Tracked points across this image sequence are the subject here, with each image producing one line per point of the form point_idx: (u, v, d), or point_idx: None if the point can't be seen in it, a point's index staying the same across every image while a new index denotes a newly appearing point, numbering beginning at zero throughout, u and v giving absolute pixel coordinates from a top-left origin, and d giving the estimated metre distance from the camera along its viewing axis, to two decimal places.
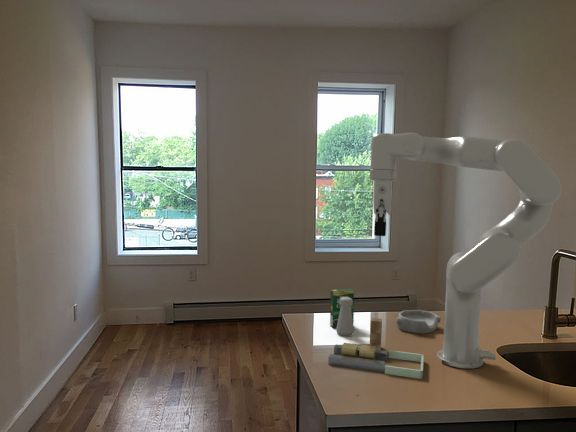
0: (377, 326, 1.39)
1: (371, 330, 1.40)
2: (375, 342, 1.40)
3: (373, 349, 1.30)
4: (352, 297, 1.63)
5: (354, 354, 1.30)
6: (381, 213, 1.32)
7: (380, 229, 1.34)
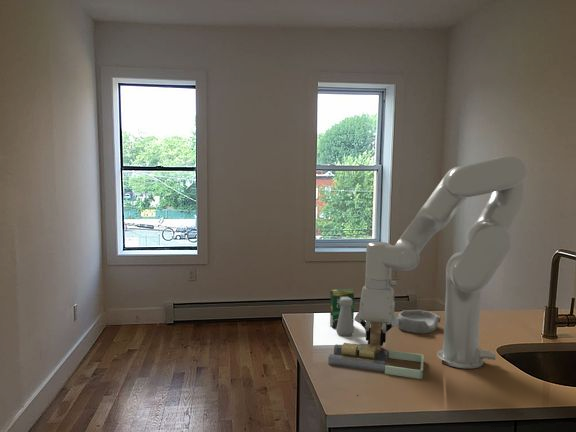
0: (377, 326, 1.39)
1: (371, 330, 1.40)
2: (375, 342, 1.40)
3: (373, 349, 1.30)
4: (352, 297, 1.63)
5: (354, 354, 1.30)
6: None
7: (385, 338, 1.40)
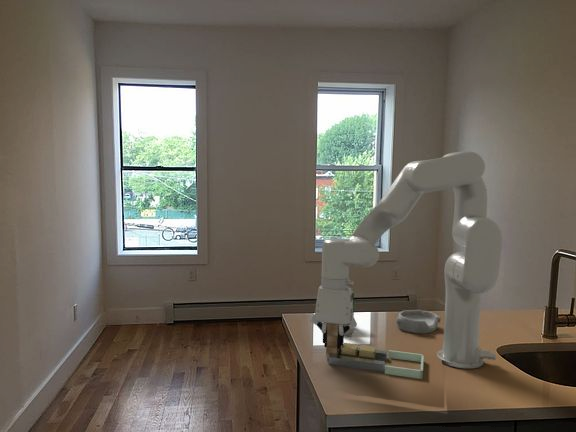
0: (334, 328, 1.32)
1: (328, 332, 1.32)
2: (332, 345, 1.32)
3: (373, 349, 1.30)
4: (352, 297, 1.63)
5: (354, 354, 1.30)
6: None
7: (343, 341, 1.33)
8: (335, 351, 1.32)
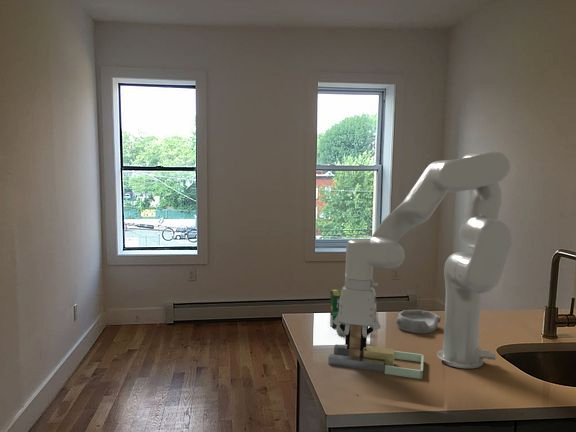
0: (357, 329, 1.30)
1: (351, 333, 1.30)
2: (355, 346, 1.30)
3: (392, 352, 1.28)
4: None
5: (376, 357, 1.28)
6: None
7: (366, 343, 1.31)
8: (358, 353, 1.30)
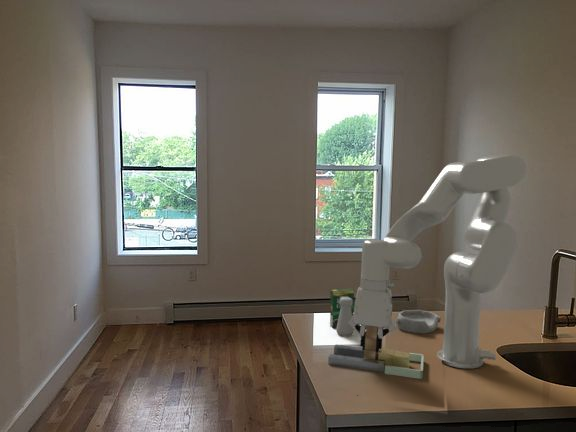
0: (372, 331, 1.28)
1: (366, 335, 1.29)
2: (370, 348, 1.29)
3: (408, 355, 1.27)
4: (352, 297, 1.63)
5: (391, 360, 1.27)
6: None
7: (381, 344, 1.30)
8: (374, 355, 1.28)
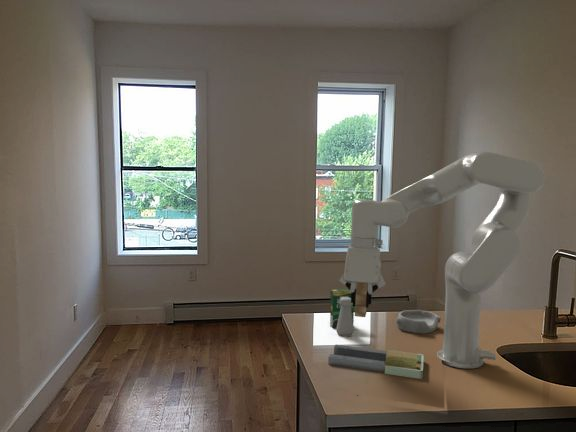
0: (363, 287, 1.34)
1: (357, 291, 1.34)
2: (361, 304, 1.34)
3: (415, 356, 1.27)
4: None
5: (399, 362, 1.26)
6: None
7: None
8: (364, 310, 1.34)
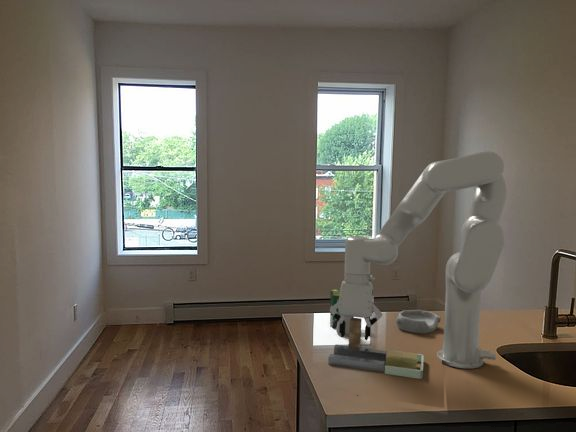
0: (356, 326, 1.39)
1: (350, 330, 1.40)
2: (354, 342, 1.40)
3: (415, 356, 1.27)
4: None
5: (399, 362, 1.26)
6: (378, 318, 1.39)
7: (370, 332, 1.40)
8: None
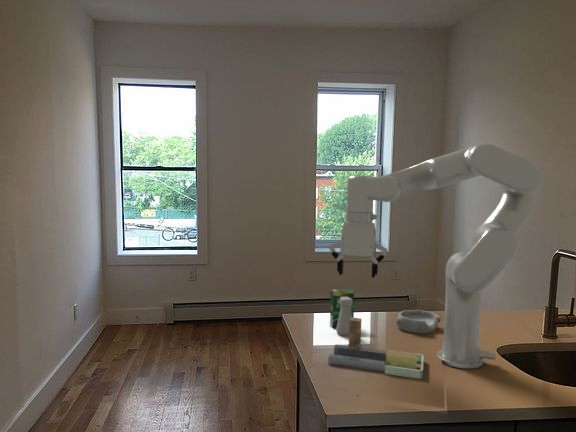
0: (356, 326, 1.39)
1: (350, 330, 1.40)
2: (354, 342, 1.40)
3: (415, 356, 1.27)
4: (352, 297, 1.63)
5: (399, 362, 1.26)
6: (385, 254, 1.36)
7: (377, 270, 1.38)
8: None
